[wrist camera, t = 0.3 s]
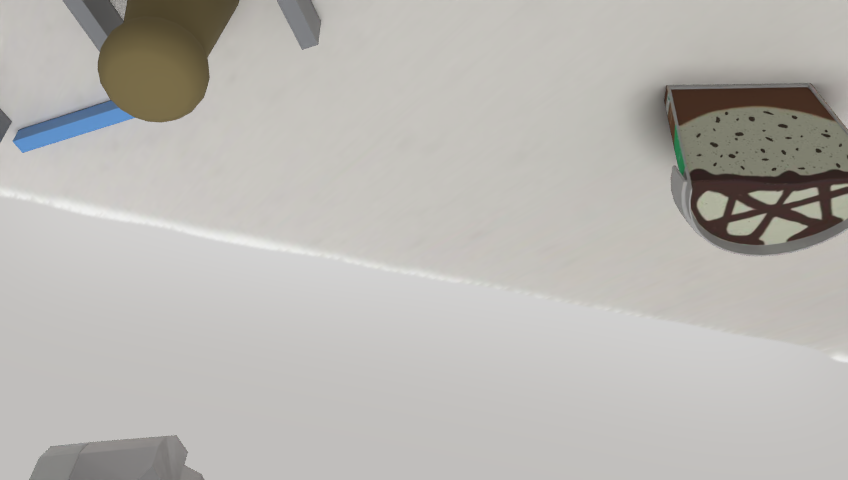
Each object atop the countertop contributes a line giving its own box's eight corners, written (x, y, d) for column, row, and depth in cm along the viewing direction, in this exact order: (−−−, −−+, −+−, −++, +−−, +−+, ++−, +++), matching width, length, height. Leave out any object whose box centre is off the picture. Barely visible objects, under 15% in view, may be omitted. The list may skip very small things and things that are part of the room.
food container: (626, 159, 57) (659, 265, 50) (643, 86, 52) (681, 189, 45) (802, 156, 57) (859, 261, 50) (833, 82, 53) (900, 185, 46)
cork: (172, 39, 49) (130, 155, 41) (111, -50, 45) (52, 60, 37) (261, 6, 48) (235, 120, 40) (206, -89, 44) (165, 17, 36)
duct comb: (-136, -24, 46) (-157, -2, 44) (230, -166, 41) (223, -147, 39) (16, 145, 55) (3, 169, 53) (332, 45, 50) (329, 68, 48)
